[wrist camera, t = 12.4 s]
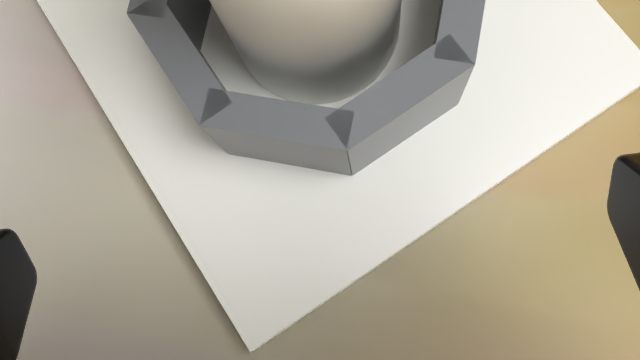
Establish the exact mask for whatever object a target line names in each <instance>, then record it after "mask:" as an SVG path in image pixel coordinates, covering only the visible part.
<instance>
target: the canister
mask: <svg viewBox="0 0 640 360" xmlns="http://www.w3.org/2000/svg"><path fill="white" fill-rule="evenodd" d="M209 1H210V3H211V4H212V6H213V8H214V10H215V12H216V13H217V15H218V17H219V19H220V21H221V22H222V24H223V26H224V28H225V30H226V31H227V33H228V35H229V37H230V39H231V40H232V42H233V44H234V46H235V48H236V49H237V51H238V53H239V55H240V57H241V58H242V60H243V62H244V64H245V65H246V67H247V69H248V71H249V72H250V73H251V75H252V76H253V77H254V78H255V79H256V80H257V81H258V82H259V83H260V84H261V85H262V86H263V87H264V88H266V89H267V90H269V91H270V92H272V93H273V94H275V95H277V96H279V97H281V98H284V99H287V100H289V101H293V102H299V103H306V104H325V103H332V102H336V101H339V100H343V99H345V98H348V97H350V96H353V95H355V94H356V93H358V92H360V91H362V90H363V89H365V88H366V87H367V86H369V85H370V84H371V83H372V82H373V81H374V80H375V79H376V78H377V77H378V76H380V74H381V73H382V72H383V70H384V69H385V68H386V67H387V65H388V63H389V61H390V60H391V58H392V56H393V53H394V51H395V49H396V45H397V41H398V36H399V28H400V16H401V5H402V0H209Z"/></svg>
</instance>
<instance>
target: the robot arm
mask: <svg viewBox="0 0 640 360" xmlns="http://www.w3.org/2000/svg"><path fill="white" fill-rule="evenodd" d="M607 210H608V215H609V219H610V221H611V224H612V226H613V228H614V231H615V233H616V236H617V238H618V240H619V243H620V245H621V247H622V250H623V252H624V255H625V257H626V259H627V262H628V264H629V266H630V269H631V271H632V274H633V276H634V278H635V281H636V283H637V285H638V288H639V290H640V153H633V154H625V155H620V156H619V157H618V158H616V160H615V162H614V164H613V169H612V175H611V182H610V188H609V194H608V200H607ZM36 283H37V274H36V270H35V267H34V265H33V263H32V261H31V259H30V257H29V256H28V254H27V252H26V250H25V248H24V246H23V245H22V243H21V241H20V239H19V237H18V236H17V234H16V233H15V232H14V231H12V230H10V229H0V360H16V359H17V356H18V352H19V348H20V344H21V341H22V337H23V333H24V329H25V325H26V322H27V318H28V314H29V310H30V306H31V303H32V299H33V295H34V291H35V287H36Z"/></svg>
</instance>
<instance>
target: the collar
mask: <svg viewBox="0 0 640 360" xmlns="http://www.w3.org/2000/svg"><path fill="white" fill-rule="evenodd" d="M37 2H38V3H39V5H40V7H41V8H42V10H43V12H44V13H45V15H46V17H47V18H48V20H49V22H50V23H51V25H52V27H53V28H54V30H55V31H56V33H57V35H58V36H59V38H60V40H61V41H62V43H63V45H64V46H65V48H66V50H67V51H68V53H69V55H70V56H71V58H72V59H73V61H74V63H75V64H76V66H77V68H78V69H79V71H80V73H81V74H82V76H83V78H84V79H85V81H86V83H87V84H88V86H89V87H90V89H91V91H92V92H93V94H94V96H95V97H96V99H97V101H98V102H99V104H100V106H101V107H102V109H103V111H104V112H105V114H106V115H107V117H108V119H109V120H110V122H111V124H112V125H113V127H114V129H115V130H116V132H117V134H118V135H119V137H120V139H121V140H122V142H123V143H124V145H125V147H126V148H127V150H128V152H129V153H130V155H131V157H132V158H133V160H134V162H135V163H136V165H137V167H138V168H139V170H140V171H141V173H142V175H143V176H144V178H145V180H146V181H147V183H148V185H149V186H150V188H151V190H152V191H153V193H154V195H155V196H156V198H157V199H158V201H159V203H160V204H161V206H162V208H163V209H164V211H165V213H166V214H167V216H168V218H169V219H170V221H171V223H172V224H173V226H174V228H175V229H176V231H177V232H178V234H179V236H180V237H181V239H182V241H183V242H184V244H185V246H186V247H187V249H188V251H189V252H190V254H191V256H192V257H193V259H194V260H195V262H196V264H197V265H198V267H199V269H200V270H201V272H202V274H203V275H204V277H205V279H206V280H207V282H208V284H209V285H210V287H211V288H212V290H213V292H214V293H215V295H216V297H217V298H218V300H219V302H220V303H221V305H222V307H223V308H224V310H225V312H226V313H227V315H228V316H229V318H230V320H231V321H232V323H233V325H234V326H235V328H236V330H237V331H238V333H239V335H240V336H241V338H242V340H243V341H244V343H245V344H246V346H247V348H248V349H249V351H250V352H252V351H254V350H256V349H258V348H259V347H261V346H262V345H264V344H265V343H267V342H268V341H270V340H271V339H272V338H274V337H275V336H277V335H278V334H280V333H281V332H283V331H284V330H286V329H287V328H289V327H290V326H291V325H293V324H294V323H296V322H297V321H299V320H300V319H302V318H303V317H305V316H306V315H308V314H309V313H311V312H312V311H313V310H315V309H316V308H318V307H319V306H321V305H322V304H324V303H325V302H327V301H328V300H330V299H331V298H332V297H334V296H335V295H337V294H338V293H340V292H341V291H343V290H344V289H346V288H347V287H349V286H350V285H351V284H353V283H354V282H356V281H357V280H359V279H360V278H362V277H363V276H365V275H366V274H368V273H369V272H370V271H372V270H373V269H375V268H376V267H378V266H379V265H381V264H382V263H384V262H385V261H387V260H388V259H389V258H391V257H392V256H394V255H395V254H397V253H398V252H400V251H401V250H403V249H404V248H406V247H407V246H408V245H410V244H411V243H413V242H414V241H416V240H417V239H419V238H420V237H422V236H423V235H425V234H426V233H427V232H429V231H430V230H432V229H433V228H435V227H436V226H438V225H439V224H441V223H442V222H444V221H445V220H447V219H448V218H449V217H451V216H452V215H454V214H455V213H457V212H458V211H460V210H461V209H463V208H464V207H466V206H467V205H468V204H470V203H471V202H473V201H474V200H476V199H477V198H479V197H480V196H482V195H483V194H485V193H486V192H487V191H489V190H490V189H492V188H493V187H495V186H496V185H498V184H499V183H501V182H502V181H504V180H505V179H506V178H508V177H509V176H511V175H512V174H514V173H515V172H517V171H518V170H520V169H521V168H523V167H524V166H525V165H527V164H528V163H530V162H531V161H533V160H534V159H536V158H537V157H539V156H540V155H542V154H543V153H544V152H546V151H547V150H549V149H550V148H552V147H553V146H555V145H556V144H558V143H559V142H561V141H562V140H564V139H565V138H566V137H568V136H569V135H571V134H572V133H574V132H575V131H577V130H578V129H580V128H581V127H583V126H584V125H585V124H587V123H588V122H590V121H591V120H593V119H594V118H596V117H597V116H599V115H600V114H602V113H603V112H604V111H606V110H607V109H609V108H610V107H612V106H613V105H615V104H616V103H618V102H619V101H621V100H622V99H623V98H625V97H626V96H628V95H629V94H631V93H632V92H634V91H635V90H637V89H638V88H640V50H639V49H638V48H637V47H636V45H635V44H634V43H633V42H632V41H631V40H630V39H629V37H628V36H627V35H626V34H625V33H624V32H623V31H622V30H621V28H620V27H619V26H618V25H617V24H616V23H615V22H614V20H613V19H612V18H611V17H610V16H609V15H608V14H607V12H606V11H605V10H604V9H603V8H602V7H601V6H600V5H599V3H598V2H597V1H596V0H402V5H401V16H400V28H399V36H398V41H397V45H396V49H395V51H394V53H393V56H392V58H391V60H390V61H389V63H388V65H387V67H386V68H385V69H384V70H383V72H382V73H381V74H380V76H378V77H377V78H376V79H375V80H374V81H373V82H372V83H371V84H370V85H369V86H367V87H366V88H365V89H363V90H362V91H360V92H358V93H356V94H355V95H353V96H350V97H348V98H345V99H343V100H339V101H336V102H332V103H325V104H306V103H299V102H293V101H289V100H287V99H284V98H281V97H279V96H277V95H275V94H273V93H272V92H270V91H269V90H267V89H266V88H264V87H263V86H262V85H261V84H260V83H259V82H258V81H257V80H256V79H255V78H254V77H253V76H252V75H251V73H250V72H249V71H248V69H247V67H246V65H245V64H244V62H243V60H242V58H241V57H240V55H239V53H238V51H237V49H236V48H235V46H234V44H233V42H232V40H231V39H230V37H229V35H228V33H227V31H226V30H225V28H224V26H223V24H222V22H221V21H220V19H219V17H218V15H217V13H216V12H215V10H214V8H213V6H212V4H211V3H210V1H209V0H37Z"/></svg>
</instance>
